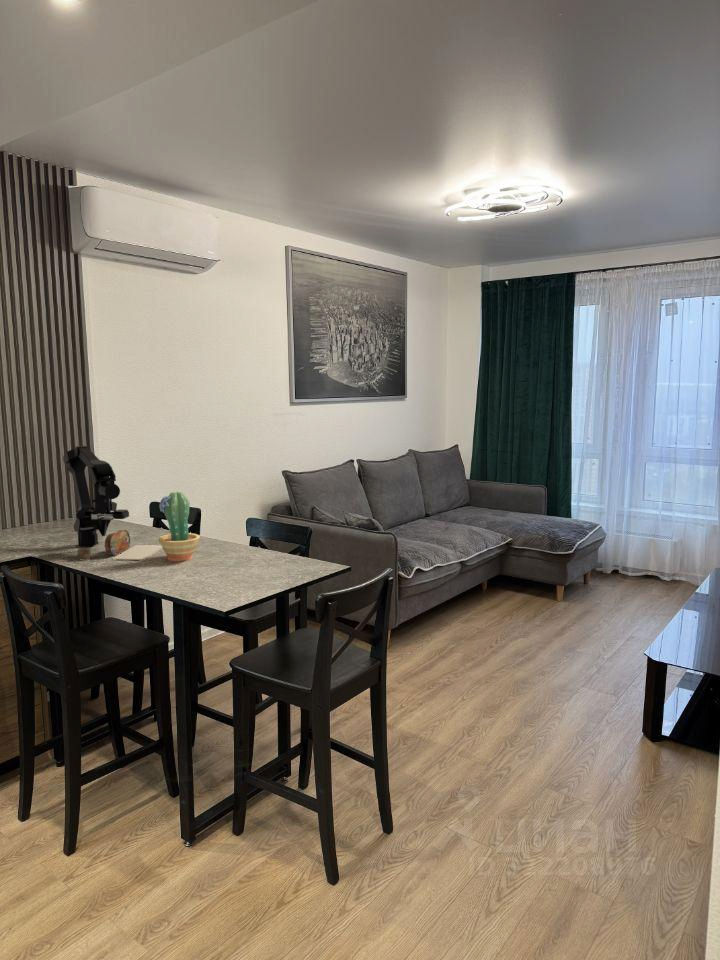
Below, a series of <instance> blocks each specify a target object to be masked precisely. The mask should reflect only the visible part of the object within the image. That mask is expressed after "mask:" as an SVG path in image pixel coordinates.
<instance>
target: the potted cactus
mask: <svg viewBox="0 0 720 960" xmlns="http://www.w3.org/2000/svg"><path fill="white" fill-rule="evenodd" d="M190 504H191V503H190V501H189V499H188V497H186V495H185V493H184V492H182V491H181V492H179V491H176V492H174V491H172V492H170V493H169V495H166V496H163V497H162V498H161V500H160V502H159V505H158V506H159V511H160V512H162V513H163V514H164V516H165V518H166V520H167V524H168V527H169V532H170V534H165V535H161V536H159V537H158V541H157V542H158V544H160V546H162V548H163V549H162V550H163V552H164V553H165V554H166V556H167V561H169V562H184V561H183V560H185V561H190V560H192V559H193V554H194V552H195V551H196V548H197V545H198V543H199V542H200V538H201V535H200V534H197V533H189V524H188V520H189V515H190ZM191 558H192V559H191ZM189 559H190V560H189Z"/></svg>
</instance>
